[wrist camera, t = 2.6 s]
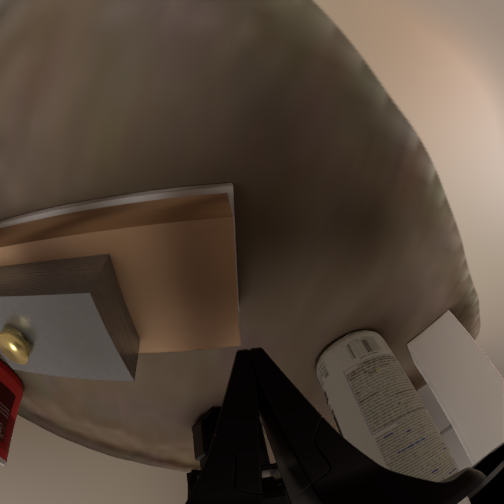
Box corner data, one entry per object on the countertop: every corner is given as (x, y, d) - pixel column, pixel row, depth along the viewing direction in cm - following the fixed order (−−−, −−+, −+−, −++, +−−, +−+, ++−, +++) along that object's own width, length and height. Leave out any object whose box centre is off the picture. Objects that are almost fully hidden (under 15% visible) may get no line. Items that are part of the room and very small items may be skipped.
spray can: (297, 369, 21) (368, 577, 4) (354, 317, 19) (468, 545, 2) (344, 379, 24) (412, 543, 7) (393, 335, 22) (487, 507, 5)
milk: (413, 361, 26) (485, 500, 8) (405, 343, 23) (494, 510, 5) (450, 331, 25) (532, 462, 6) (449, 307, 22) (549, 461, 3)
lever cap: (109, 253, 10) (83, 306, 7) (140, 340, 12) (132, 393, 9) (-12, 267, 9) (-42, 306, 6) (26, 338, 11) (8, 378, 8)
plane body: (231, 182, 13) (241, 208, 10) (238, 305, 16) (246, 348, 14) (-17, 225, 10) (-46, 252, 7) (23, 315, 14) (6, 348, 11)
